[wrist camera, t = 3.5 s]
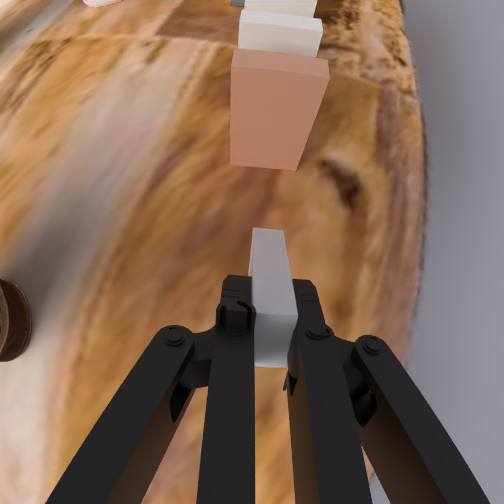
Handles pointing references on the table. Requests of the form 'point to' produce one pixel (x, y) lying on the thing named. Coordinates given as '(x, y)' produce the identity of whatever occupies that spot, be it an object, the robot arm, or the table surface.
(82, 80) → the table surface
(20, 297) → the coffee cup
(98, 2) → the bottle
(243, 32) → the domino
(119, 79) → the table surface
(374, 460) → the robot arm
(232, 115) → the domino
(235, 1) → the slate coaster
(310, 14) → the domino
